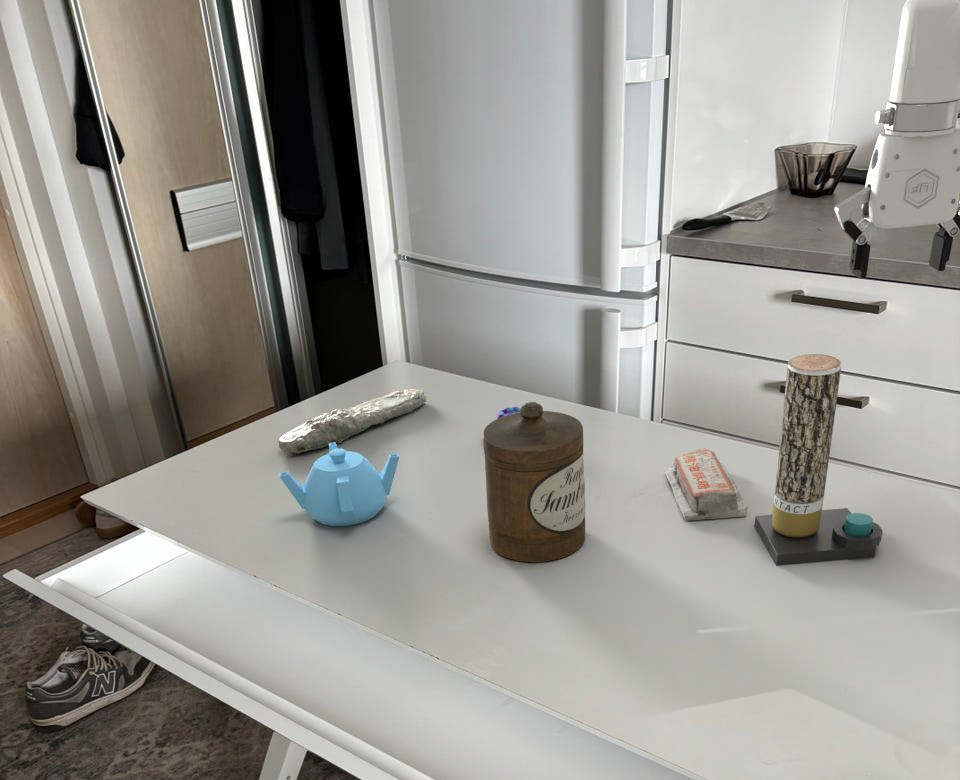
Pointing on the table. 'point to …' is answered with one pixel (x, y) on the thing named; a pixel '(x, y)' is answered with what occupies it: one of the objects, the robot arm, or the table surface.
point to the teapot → (343, 487)
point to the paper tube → (805, 443)
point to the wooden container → (535, 484)
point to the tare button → (858, 524)
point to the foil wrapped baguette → (350, 421)
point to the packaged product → (704, 487)
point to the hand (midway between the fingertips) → (897, 272)
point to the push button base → (818, 541)
